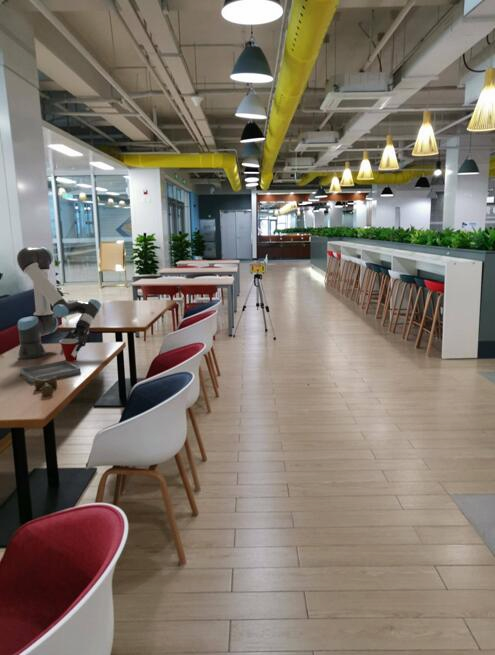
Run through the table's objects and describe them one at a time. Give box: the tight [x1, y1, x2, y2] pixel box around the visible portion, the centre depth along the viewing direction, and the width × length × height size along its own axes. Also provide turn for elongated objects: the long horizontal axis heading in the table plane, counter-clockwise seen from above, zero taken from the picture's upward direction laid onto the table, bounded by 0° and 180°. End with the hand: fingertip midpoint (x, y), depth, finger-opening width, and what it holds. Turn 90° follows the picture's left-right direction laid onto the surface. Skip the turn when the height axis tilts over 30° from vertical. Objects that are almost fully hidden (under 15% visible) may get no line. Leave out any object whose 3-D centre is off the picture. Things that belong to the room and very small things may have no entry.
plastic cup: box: [59, 338, 79, 363], centre depth 287 cm, size 11×11×12 cm
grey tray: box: [19, 359, 82, 385], centre depth 260 cm, size 24×24×3 cm
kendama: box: [34, 376, 58, 397], centre depth 232 cm, size 6×10×20 cm
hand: (66, 355), depth 284 cm, fingers closed on plastic cup, 9 cm apart
